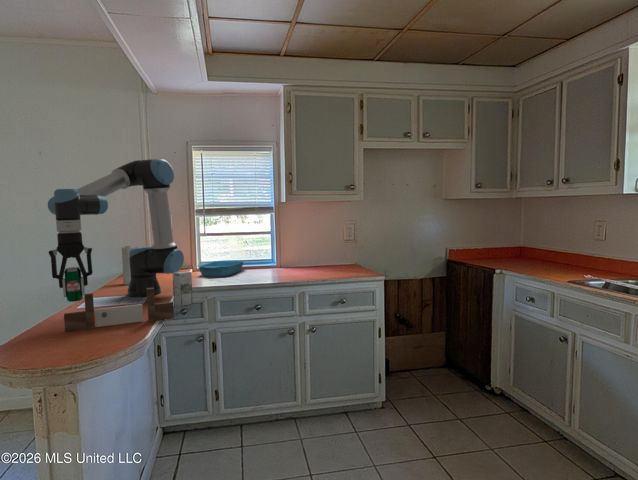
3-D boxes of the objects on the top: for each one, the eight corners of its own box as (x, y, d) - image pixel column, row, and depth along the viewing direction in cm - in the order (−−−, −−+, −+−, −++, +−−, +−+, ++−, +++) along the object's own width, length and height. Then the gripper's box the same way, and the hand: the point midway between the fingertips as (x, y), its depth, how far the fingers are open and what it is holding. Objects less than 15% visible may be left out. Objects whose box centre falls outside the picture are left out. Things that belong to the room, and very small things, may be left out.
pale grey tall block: (121, 284, 226) (119, 246, 224) (129, 282, 232) (127, 245, 230) (131, 285, 224) (129, 247, 222) (139, 283, 229) (137, 246, 228)
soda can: (65, 302, 144) (62, 269, 143) (68, 299, 148) (65, 267, 147) (82, 301, 146) (79, 268, 145) (83, 298, 150) (81, 266, 149)
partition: (66, 330, 139) (63, 295, 138) (173, 316, 154) (171, 285, 153) (64, 332, 136) (62, 297, 135) (174, 318, 151) (172, 286, 150)
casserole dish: (216, 269, 280) (216, 259, 279) (247, 269, 277) (247, 259, 276) (193, 278, 243) (192, 267, 243) (228, 278, 240) (228, 266, 240)
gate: (143, 319, 149) (142, 303, 148) (143, 321, 146) (142, 305, 146) (96, 325, 142) (95, 309, 142) (96, 327, 140) (95, 310, 139)
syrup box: (185, 302, 177) (183, 270, 176) (193, 304, 174) (191, 271, 172) (173, 305, 173) (172, 272, 172) (181, 307, 169) (179, 273, 168)
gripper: (37, 234, 138) (43, 300, 140) (97, 231, 145) (102, 294, 148) (41, 232, 144) (47, 296, 147) (98, 230, 152) (103, 290, 154)
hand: (74, 295), depth 147 cm, fingers closed on soda can, 5 cm apart
